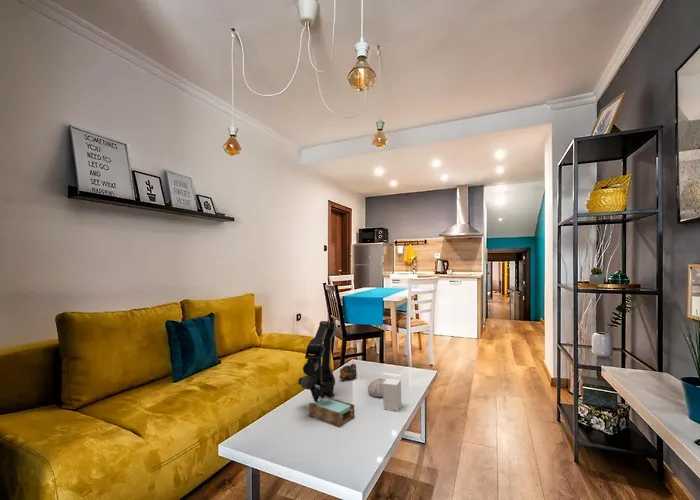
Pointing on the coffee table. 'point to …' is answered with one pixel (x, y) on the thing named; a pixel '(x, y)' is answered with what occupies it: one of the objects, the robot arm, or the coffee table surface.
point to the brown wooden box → (331, 414)
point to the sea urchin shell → (376, 387)
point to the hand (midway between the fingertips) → (315, 401)
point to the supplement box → (392, 394)
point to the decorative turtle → (348, 372)
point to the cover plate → (333, 405)
